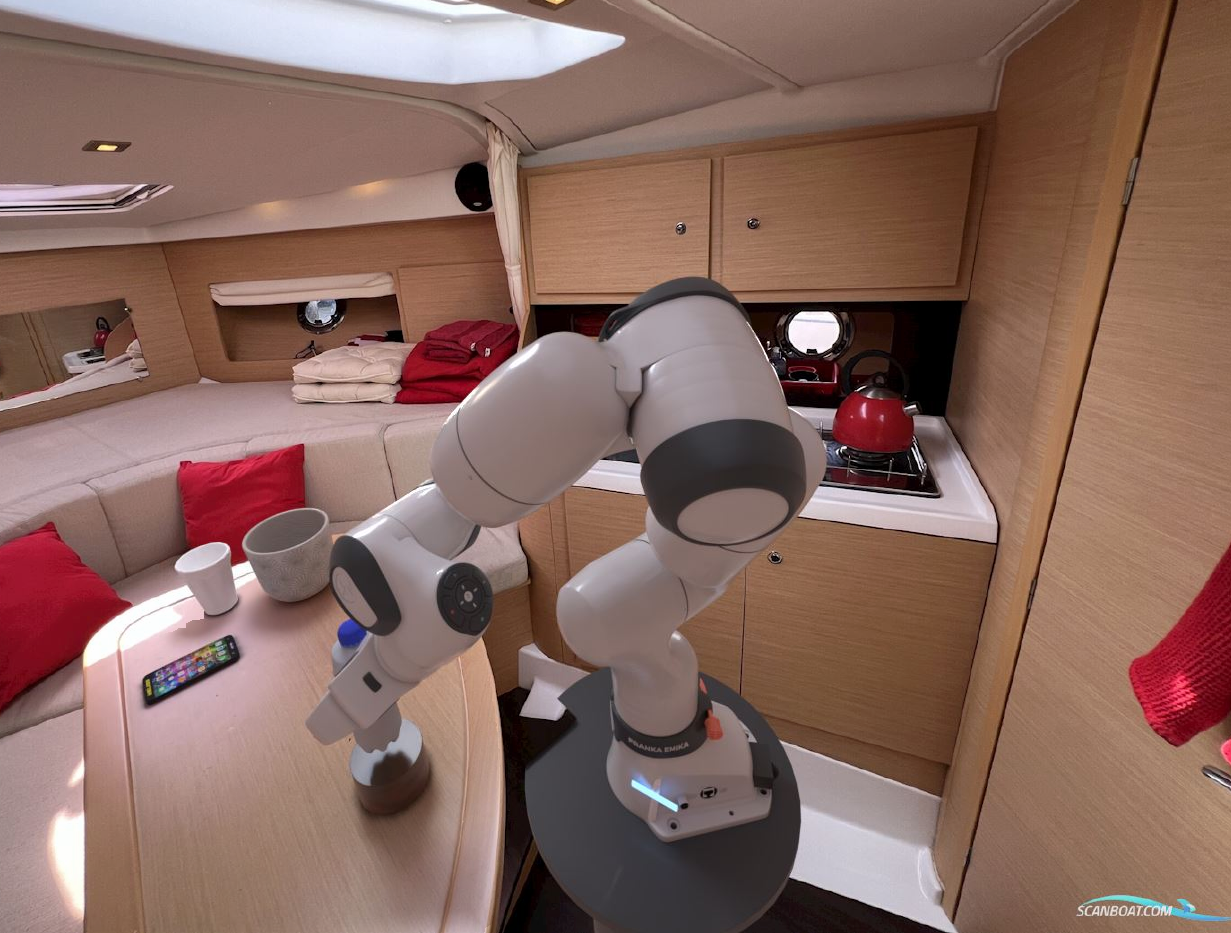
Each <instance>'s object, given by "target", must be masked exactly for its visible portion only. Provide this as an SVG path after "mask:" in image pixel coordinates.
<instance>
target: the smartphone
mask: <svg viewBox="0 0 1231 933" xmlns="http://www.w3.org/2000/svg"><path fill="white" fill-rule="evenodd" d="M240 657H241V654H240V650H239V648H238V646H237V643H236V640H235V638H234V636H233V635H232V634H228V635H227V634H226V636H223V637H221V638H219V639H216V640H214V641H212V642H210V643H208V644H206V645H204V646H202V647H200V648H198V649H196V650H194V651H192V652H189V653H187V654H186V655H184V656H182V657H179V658H177V659H176V660H173V661H171V662H169V663H167V664H165V665H163V666H161V667H159V668H157V669H154V670H153V671H150V672H149V673H147V674H146V675H144V676H143V678H142V680H141V682H142V690H143V698H144V702H145V703H146V704H147V705H151V704H155V703H156V702H159V701H160V700H162V699H164V698H166V697H168V696H170V695H172V694H174V693H175V692H178V691H180V690H181V689H184V688H185V687H187V686H190V685H191V684H194V683H195V682H197V681H199V680H201V679H203V678H205V677H207V676H209V675H210V674H213V673H214V672H216V671H218V670H220V669H222V668H225V667H226V666H228V665H230V664H231V663H234V662H236V661H237V660H238V659H240Z"/></svg>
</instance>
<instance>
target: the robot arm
mask: <svg viewBox="0 0 1231 933" xmlns="http://www.w3.org/2000/svg"><path fill="white" fill-rule="evenodd" d="M613 321H614V322H613ZM612 322H613V323H612ZM611 323H612V326H611V327H609V326H610V325H611ZM785 396H786V395H785V393H784V390H783V387H782V385H781V382H780V379H779V376H778V373H777V371H776V369H775V368H774V366H773V365H772V363H771V362H770V360H769V358H768V355H767V353H766V351H765V349H764V347H763V345H762V344H761V342H760V340H759V338H758V336H757V335H756V332H754V330H753V328H752V321H751V318H750V316H749V314H748V311H746V309H745V308H744V306H743V305H742V304H741V302H740V301H739V300H738V298H737V297H736V296H735V295H734V294H733V293H732V292H731V291H730V290H729V289H728V288H727V287H726V286H724V285H723V284H721V283H720V282H718V281H716V280H715V279H711V278H708V277H704V276H684V277H677V278H674V279H670V280H667V281H664V282H662V283H659V284H657V285H655V286H653V287H651V288H649V289H647V290H646V291H644V292H642V293H641V294H639V295H638V296H636V298H634V299H633V300H632V301H631V302H630V303H629V304H628V305H627V306H624V307H621V308H618V309H616V310H613V311H612V313H610V315H609V316H608V318H606V320H605V322H604V324H603V326H602V328H601V330H600V332H599V335H598V340H595V339H593V338H590V337H589V336H586V335H584V334H582V333H577V332H571V331H558V332H552V333H549V334H546V335H543V336H541V337H539V338H537V339H536V340H534V341H533V342H531V343H530V344H528V345H527V346H525V347H523V348H522V349H521V350H519V351H518V352H516V353H515V354H514V355H512V356H511V357H509V358H508V359H506V360H505V361H504V362H503V363H501V364H500V365H499V366H498V367H496V368H495V369H494V370H492V372H490V373H489V374H488V375H487V376H486V377H485V378H484V379H482V380H481V381H480V382H479V384H478V385H477V386H476V387H475V388H473V390H472V391H471V392H470V393H469V394H468V395H466V397H465V398H464V399H462V401H461V402H460V403H459V404H458V405H457V407H456V408H455V409H454V410H453V411H452V413H450V415H449V416H448V417H447V418H446V419H445V422H444V423H443V424H442V426H441V428H440V429H439V431H438V433H437V435H436V437H435V438H434V441H433V443H432V445H431V448H430V451H429V467H430V472H431V478H428V479H426V480H424V481H423V482H421V483H420V484H419V485H417V486H416V487H415V488H413V489H412V490H411V491H409V492H408V493H407V494H405V495H404V496H402V497H400V498H399V499H397V500H396V501H394V502H392V503H391V504H389V505H388V506H386V507H384V508H383V509H381V510H380V511H378V512H376V513H375V514H373V515H371V516H370V517H368V518H367V519H366V520H364V521H362V522H361V523H359V524H357V525H356V526H354V527H352V528H351V529H350V530H348V531H347V532H345V533H344V534H342V535H340V536H339V537H337V538H336V540H335V541H334V542H333V544H334V545H333V547H332V550H331V554H330V560H329V581H330V582H329V586H330V591H331V593H332V595H333V597H334V599H335V601H336V602H337V603H338V605H339V607H340V608H341V609H342V610H343V612H344V613H345V614H346V615H347V617H348V618H349V619H352V620H353V621H354V622H355V623H356V624H357V625H358V626H360V627H361V628H362V629H364V630H366V631H368V633H367V635H366V636H365V637H364V639H363V640H362V642H361V644H360V645H359V647H358V649H357V650H356V652H355V653H354V654H353V656H352V657H351V658H350V659H349V660H348V662H347V663H346V664H345V665H344V666H343V667H342V669H341V670H340V671H339V672H338V673H337V674H336V675H335V676H334V675H333V678H331V680H330V681H329V682H328V683H327V686H326V687H327V692H326V693H325V694H324V695H323V696H322V697H321V699H320V700H319V701H318V702H317V704H316V705H315V706H314V708H312V710H311V712H310V713H309V714H308V715H307V717H306V718H305V720H304V725H305V727H306V729H307V730H308V731H309V733H310V734H311V735H312V737H314V738H315V739H316V740H317V742H318V743H319V744H321V745H322V746H324V747H325V746H331V745H333V744H335V743H336V742H338V741H341V740H342V739H344V738H346V737H348V736H349V735H351V734H353V732H354V731H355V730H356V729H357V728H359V727H360V726H361V727H362V728H363V729H367V728H369V727H370V726H372V725H373V724H374V723H375V722H376V721H377V720H378V719H379V718H381V717H382V716H383V714H384V713H385V712H386V711H387V710H388V709H389V708H390V707H391V706H393V705H394V704H395V703H396V702H398V701H399V700H400V699H401V697H403V696H404V695H406V694H407V693H409V692H410V691H412V690H414V689H415V688H417V687H418V686H420V684H421V683H422V682H424V681H426V680H427V679H428V678H430V677H432V675H434V674H436V673H437V672H438V671H439V670H440V669H441V668H443V667H445V666H447V665H449V664H451V663H452V662H454V661H455V660H457V659H458V658H460V657H461V656H462V655H464V654H466V652H467V651H469V650H470V649H471V648H472V647H473V646H474V645H475V644H476V643H477V642H478V641H479V640H480V639H481V638H482V637H483V635H484V634H485V633H486V631H487V629H488V627H489V626H490V623H491V621H492V618H493V614H494V613H493V612H494V605H495V597H494V590H493V587H492V584H491V582H490V579H489V578H488V576H487V574H486V573H485V572H484V571H483V570H482V569H481V568H479V567H478V566H477V565H475V564H473V563H471V562H468V561H458V560H454V559H455V558H457V557H459V556H460V555H461V554H463V553H465V551H467V550H468V549H470V548H471V547H472V546H474V544H475V543H476V541H477V539H478V538H479V535H480V532H481V529H482V528H483V527H484V528H486V529H497V528H502V527H504V526H507V525H510V524H513V523H515V522H518V521H520V520H522V519H525V518H527V517H528V516H530V515H533V514H534V513H536V512H538V511H539V510H540V509H542V508H544V507H546V506H547V505H548V504H550V503H551V502H552V501H554V500H555V499H557V498H558V497H559V496H561V495H562V494H563V493H565V492H566V491H567V490H568V489H569V488H571V487H572V486H573V485H574V484H576V482H578V481H579V480H580V479H581V478H582V477H584V476H585V475H586V474H587V473H588V472H589V471H590V470H591V469H592V468H593V467H594V466H595V465H597V463H598V462H599V461H600V460H602V459H605V458H607V457H609V456H612V455H615V454H618V453H621V452H626V451H631V450H636V454H637V457H638V461H639V465H640V474H639V480H640V484H641V486H642V487H641V488H642V491H643V494H644V497H645V498H646V501H647V504H648V508H647V510H646V513H645V520H644V521H645V522H644V524H645V532H643V533H642V534H640V535H639V536H636V537H635V538H634V539H631V540H630V541H629V542H628V541H627V543H625V544H623V545H621V546H619V547H617V548H615V549H613V550H612V551H610V552H608V553H606V554H604V555H602V556H600V557H599V558H596V559H595V560H593V561H591V562H590V563H588V564H587V565H585V567H583V568H582V569H581V570H579V571H578V572H577V573H576V574H575V575H574V576H573V577H571V578H570V579H569V580H568V581H567V582H566V583H565V584H564V585H563V586H562V587H560V589H559V591H558V594H557V598H556V607H555V610H556V612H555V614H556V621H557V627H558V630H559V632H560V634H561V636H562V639H563V640H564V642H565V644H566V646H568V648H569V649H570V651H572V652H573V653H574V654H575V655H576V656H577V657H578V658H580V659H581V660H583V661H584V662H586V663H587V664H590V665H591V666H595V667H599V668H606V667H611V672H612V680H613V689H612V693H611V701H610V712H611V724H612V730H613V733H614V735H613V741H612V745H611V747H610V750H609V753H608V757H607V765H606V767H607V776H608V780H609V784H610V786H611V788H612V791H613V792H614V794H615V796H616V797H617V799H618V800H619V801H620V802H621V803H622V805H623V806H624V807H625V808H627V809H628V810H629V811H630V812H632V813H633V814H635V815H636V816H638V817H639V818H641V819H642V820H644V821H645V822H646V823H647V825H648V826H649V827H650V829H651V830H652V831H653V833H654V834H655V835H656V836H657V837H658V838H659V839H660V840H661V841H663V842H672V841H676V840H680V839H684V838H688V837H692V836H696V835H700V834H704V833H708V832H713V831H717V830H721V829H725V828H729V827H733V826H737V825H741V824H745V823H749V822H753V821H757V820H761V819H764V818H767V817H768V815H769V812H770V809H771V802H772V792H771V789H773V780H775V779H776V778H777V777H778V775H779V770H778V768H777V767H776V766H775V765H774V764H773V763H772V762H771V758H770V752H769V746H768V744H764V743H757V741H756V739H755V738H754V736H753V735H752V733H751V732H750V731H749V729H748V728H747V727H746V726H745V725H744V724H743V723H742V722H741V721H740V720H738V718H737V716H736V715H735V714H734V712H733V711H732V710H731V709H729V708H728V707H727V706H725V705H722V704H719V703H717V702H714V701H712V700H711V699H710V696H709V695H707V692H706V688H705V685H704V683H703V681H702V679H701V678H700V688H701V689H699V688H698V671H699V659H698V656H697V654H696V652H695V649H694V648H693V646H692V645H691V643H690V642H689V640H688V639H687V638H686V637H685V636H684V635H683V634H682V633H681V632H679V630H677V629H678V628H679V627H680V626H682V625H683V624H684V623H685V622H687V621H689V620H690V619H692V618H693V617H695V616H696V615H697V614H699V613H700V612H701V611H703V610H704V609H706V608H707V607H709V606H711V605H712V604H713V603H715V602H716V601H718V600H719V599H720V598H721V596H723V595H724V593H725V592H726V591H727V590H728V589H729V588H730V587H731V586H732V585H733V584H734V582H735V581H736V580H737V579H738V577H740V575H741V573H742V571H744V570H745V569H746V568H747V567H748V566H750V565H751V563H753V562H754V561H755V559H757V558H758V557H759V556H760V555H762V553H764V552H765V551H766V550H767V549H768V548H769V547H770V546H772V545H773V544H774V543H775V542H776V541H777V540H778V539H779V538H780V537H781V536H782V535H783V534H784V533H785V532H786V531H787V530H788V528H790V527H791V525H792V524H793V523H794V522H795V521H796V519H797V518H798V517H799V515H800V514H801V513H802V512H803V511H804V510H805V508H806V507H807V505H808V504H809V502H810V501H811V499H812V498H813V496H814V494H815V493H816V491H817V489H818V488H819V487H820V484H821V483H822V481H823V479H824V477H825V474H826V471H827V463H828V458H827V457H828V456H827V450H826V447H825V444H824V441H823V439H822V437H821V435H820V433H819V432H818V430H817V429H816V427H815V426H814V425H813V424H812V423H811V422H810V421H809V420H808V419H807V418H806V417H805V416H804V415H803V414H801V413H800V412H798V411H797V410H795V409H794V408H791V407H789V406H788V404H787V399H786V397H785ZM747 737H748V738H747ZM761 792H765V793H766V795H763V794H761ZM731 815H732V816H731ZM671 826H675V827H676V828H677V829H675V830H673V829H672V828H671Z"/></svg>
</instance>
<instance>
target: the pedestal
mask: <svg viewBox="0 0 1231 933" xmlns="http://www.w3.org/2000/svg"><path fill="white" fill-rule="evenodd" d="M401 720H402V723H401V727H400V733H399V737H398V739H397V740H396V742H392V741H391V742H390V743H389V744H388V746H387V749H386V750H385V751H383V752H381V751H379V750H377V749H376V750H374V751H373V753H371V754H370V753H366V752H365V751H364V750H363V749H362V748H361V747H360V746H359V745H358V744H357V743H355V745H354V746H353V748H352V751H351V753H350V758H349V770H350V774H351V777H352V780H353V782H354V786H355V788H356V792H357V795H358V798H359V801H360V802H361V805H362V806H363V807H364V809H365V810H366V811H367V812H369V813H371V814H373V815H377V816H388V815H393V814H396V813H399V812H401V811H403V810H405V809H406V808H408V807H409V806H410V805H412V804H413V803H414V802H415V801H416V800H417V799H418V798H419V796H420V795H421V794H422V793H423V791H424V789H425V788H426V785H427V783H428V781H429V775H430V762H429V759H428V755H427V750H426V748H425V743H424V742H425V741H424V739H423V738H424V737H423V735H422V732H421V730H420V728H419V726H418V725H417V724H416V723H415V722H414V721H412V720H411V719H407V718H402V717H401Z"/></svg>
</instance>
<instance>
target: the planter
mask: <svg viewBox="0 0 1231 933" xmlns="http://www.w3.org/2000/svg"><path fill="white" fill-rule="evenodd" d="M330 524H331V523H330V519H329V515H328V514H327V513H326V512H325V511H323V510H322V509H319V508H313V507H301V508H294V509H290V510H289V509H288V510H286V511H282V512H279V513H276V514H274V515H272V516H270V517H267V518H266V519H264V520H262V521H260V522H258V523H257V524H256V525H255V526H253V527H251V529H250V530H248V531H247V533H246V534H245V535H244V537H243V539H242V543H241V547H242V550H243V552H244V554H245V556H246V558H247V560H248V562H249V565H250V566H251V569H252V570H253V574H254V576H255V577H256V579H257V581H258V583H259V585H260V587H261V589H262V590H263V591H264V592H265V593H266V594H267V596H269V597H271V598H272V599H273V600H277V601H280V602H284V603H293V602H300V601H303V600H306V599H309V598H311V597H313V596H315V595H317V594H319V593H320V592H321V591H322V590H324V589H325V588H326V587H327V586H328V584H330V581H329V560H330V554H331V550H332V547H333V545H334V540H333V534H332V529H331V525H330Z"/></svg>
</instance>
